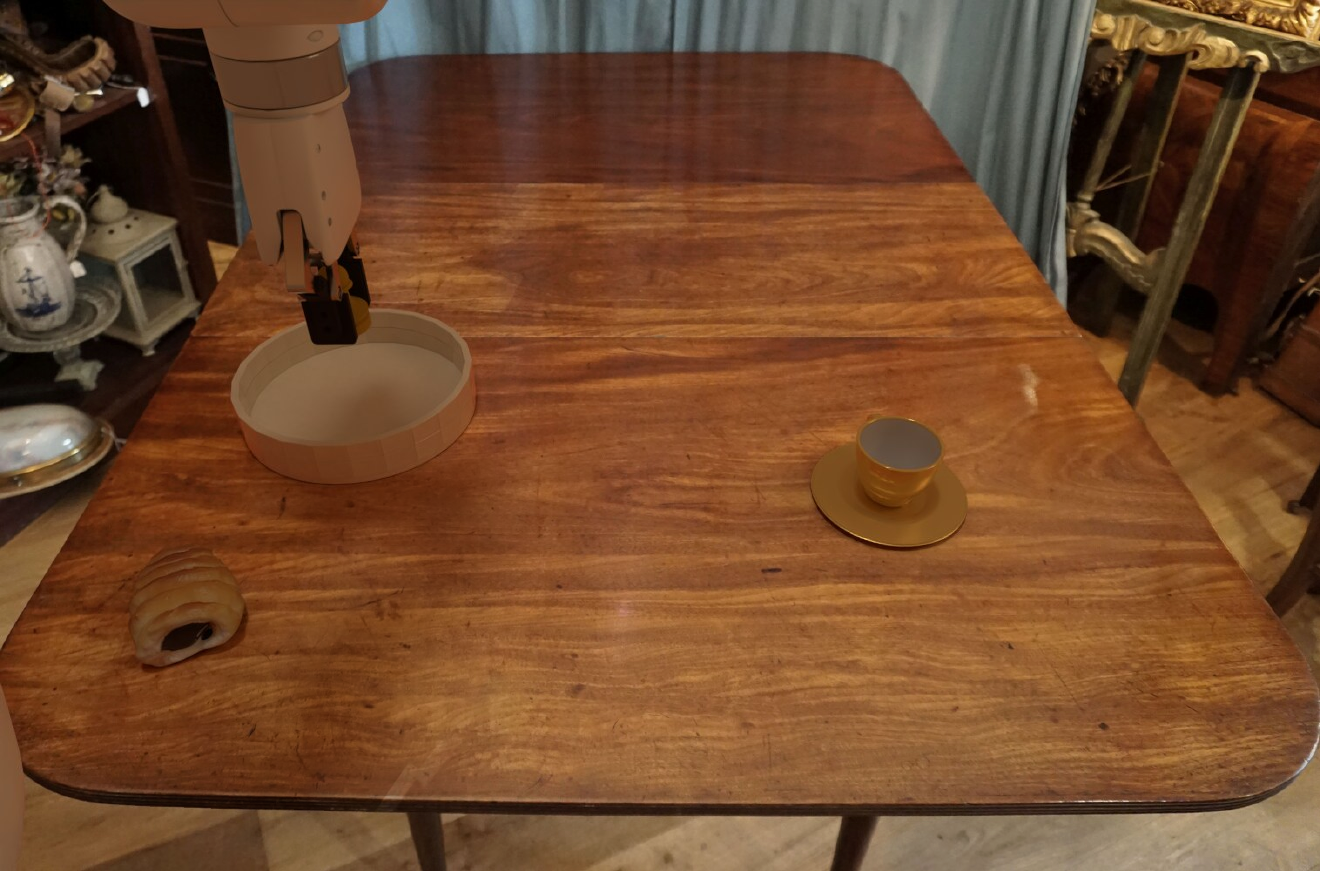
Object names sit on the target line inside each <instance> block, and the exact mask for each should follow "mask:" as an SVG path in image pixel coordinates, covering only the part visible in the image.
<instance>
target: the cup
mask: <svg viewBox="0 0 1320 871" xmlns="http://www.w3.org/2000/svg"><path fill="white" fill-rule="evenodd" d="M855 437H856V438H855V441H853V442H849V443H845V444H842V445H839V446H838V447H837V446H836V447H835V448H833V449H831V450H830V451H828V452H826V453H825V454H824V455H822V457H821V458H820V459H819V460H818V461H817V462H816V463H815V466H814V468H813V470H812V473H811V476H810V488H811V494H812V496H813V499H814V501H815V503H816V505H817V506H818V507H819V509H820V511H821V512H822V513H823V514H824V515H825V516H826V517H827V518H828V519H829V520H830V521H831V522H832V523H834V524H835V525H836V526H837V527H838V528H841V529H842V530H844V531H845V532H847V533H849V534H851V535H853V536H855V537H857V538H860V539H861V540H862V539H863V540H865V541H868V542H871V543H874V544H879V545H883V546H889V547H902V548H904V547H905V548H907V547H920V546H921V547H922V546H925V545H930V544H934V543H936V542H940V541H941V540H943V539H946V538H947V537H949V536H950V535H952V534H953V533H954V532H955V531H957V530H958V529H959V528H960V526H962V524H963V523H964V521H965V519H966V516H967V513H968V506H969V500H968V496H967V492H966V488H965V487H964V484H963V483H962V482H961V480H960V479H959V477H958V476H957V474H955V473H954V471H953V470H952V469H951V468H950V467H949V466H947V465H946V464H945V463H944V462H943V460H944V457H945V454H946V445H945V442H944V440H943V438H942V437H941V435H940V434H939V433H938V432H937V431H936V430H935V429H933V427H931V426H930V425H928V424H927V423H925V422H922V421H920V420H917V419H915V418H912V417H908V416H904V415H903V416H902V415H882V414H881V413H871V414H869V415H868V416H867V417H866V420H865V422H864V423H863V424H862V425H861V426H860V427H859V429H858V430H857V433H856V436H855Z"/></svg>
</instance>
